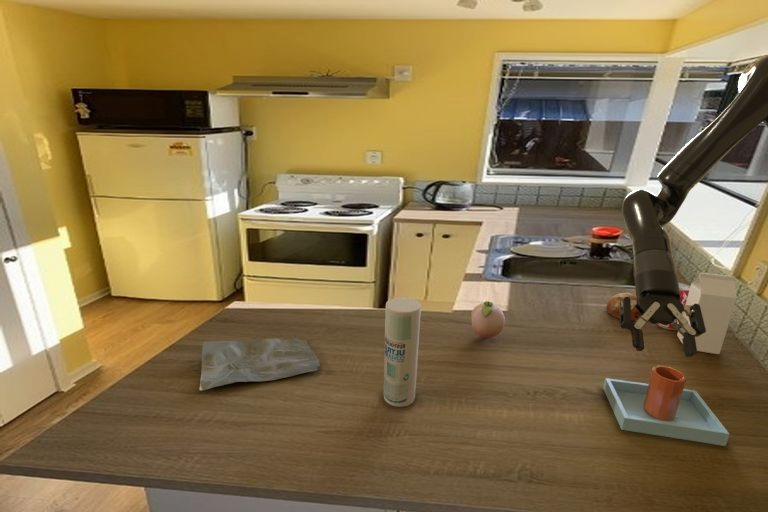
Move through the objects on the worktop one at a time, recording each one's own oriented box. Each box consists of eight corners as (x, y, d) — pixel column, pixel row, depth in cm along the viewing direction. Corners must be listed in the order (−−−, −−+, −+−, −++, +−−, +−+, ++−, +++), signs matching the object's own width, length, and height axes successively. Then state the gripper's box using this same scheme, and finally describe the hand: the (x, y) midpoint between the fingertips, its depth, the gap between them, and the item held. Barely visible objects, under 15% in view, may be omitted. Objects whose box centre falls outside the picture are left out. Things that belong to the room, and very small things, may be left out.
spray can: (421, 394, 85) (427, 303, 78) (404, 412, 80) (409, 315, 73) (394, 383, 88) (397, 294, 82) (376, 399, 83) (378, 305, 77)
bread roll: (619, 316, 129) (612, 291, 130) (656, 314, 121) (648, 287, 121) (604, 325, 123) (597, 299, 123) (642, 324, 115) (634, 295, 115)
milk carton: (719, 355, 102) (742, 281, 96) (685, 349, 104) (705, 277, 98) (708, 341, 109) (729, 271, 103) (676, 336, 111) (695, 268, 105)
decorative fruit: (504, 348, 102) (509, 311, 99) (470, 345, 104) (473, 308, 100) (500, 330, 111) (504, 295, 108) (468, 327, 112) (472, 292, 109)
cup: (668, 405, 82) (678, 367, 80) (679, 423, 78) (691, 383, 75) (638, 401, 84) (648, 363, 81) (648, 418, 79) (659, 379, 76)
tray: (692, 401, 85) (695, 390, 84) (725, 446, 73) (730, 434, 72) (602, 388, 88) (605, 377, 87) (621, 429, 76) (624, 417, 76)
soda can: (682, 324, 118) (693, 284, 114) (684, 334, 112) (695, 292, 108) (652, 317, 121) (662, 278, 117) (653, 327, 115) (663, 286, 111)
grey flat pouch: (309, 341, 105) (310, 333, 105) (322, 378, 91) (323, 369, 91) (203, 350, 97) (203, 341, 96) (199, 393, 83) (198, 383, 82)
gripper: (624, 265, 86) (631, 343, 79) (703, 271, 83) (718, 353, 76) (611, 280, 92) (617, 353, 85) (684, 286, 90) (696, 363, 83)
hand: (664, 353), depth 81 cm, fingers open, 8 cm apart
